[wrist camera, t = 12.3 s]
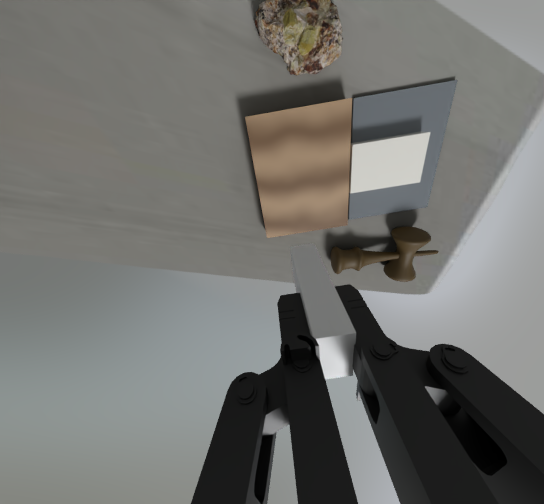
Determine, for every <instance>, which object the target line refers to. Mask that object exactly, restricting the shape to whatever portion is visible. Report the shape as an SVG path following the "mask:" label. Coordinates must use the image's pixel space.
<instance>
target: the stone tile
mask: <svg viewBox="0 0 544 504" xmlns="http://www.w3.org/2000/svg"><path fill="white" fill-rule="evenodd" d="M429 137H430V132H416V133H410V134H404V135H398V136H392V137H386V138H380V139H374V140H368V141H362V142H356V143H351V144H350V171H349V193H350V194H351V193H357V192H363V191H369V190H375V189H382V188H388V187H394V186H400V185H407V184H413V183H419V182H420V180H421V175H422V171H423V166H424V161H425V156H426V151H427V147H428V142H429Z"/></svg>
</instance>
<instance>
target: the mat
mask: <svg viewBox="0 0 544 504" xmlns="http://www.w3.org/2000/svg"><path fill="white" fill-rule="evenodd" d="M456 84H457V80H454V81H448V82H442V83H437V84H431V85H425V86H420V87H414V88H408V89H403V90H397V91H392V92H386V93H380V94H375V95H369V96H363V97H358V98H353V102H352V128H351V143H356V142H362V141H368V140H374V139H380V138H386V137H392V136H398V135H404V134H410V133H416V132H430V137H429V142H428V147H427V151H426V156H425V161H424V166H423V171H422V175H421V180H420V182H419V183H413V184H407V185H400V186H394V187H388V188H382V189H375V190H369V191H363V192H357V193H351V194H350V193H349V206H348V219H356V218H362V217H368V216H374V215H381V214H387V213H393V212H399V211H405V210H412V209H418V208H424V207H427V206H428V201H429V197H430V193H431V189H432V185H433V180H434V176H435V172H436V168H437V164H438V159H439V155H440V151H441V147H442V143H443V138H444V134H445V130H446V126H447V122H448V117H449V113H450V109H451V105H452V101H453V96H454V92H455V88H456Z"/></svg>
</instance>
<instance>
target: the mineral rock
mask: <svg viewBox="0 0 544 504" xmlns="http://www.w3.org/2000/svg"><path fill="white" fill-rule="evenodd" d="M256 16H257V17H256V19H255V25H256V27H257V28H258V30H259V36H260V39H261V40H262V41H263V43H264V44H265V45H267V47H268V48H270V49H271V50H273V52H274V53H277V54H280V55H281V56H282V57H283V59H284V62H285V63H287V65H288V68H287V70H288V71H289V72H290V74H294V75H295V74H296V75H300V74H304V73H308V74H317V73H318V72H319V71H320V70H321V69H323V68H324V67H326V66H329V65H330V64H331V63H332V62H334V61H335V60H336V59H337V58H338V57H339V56H340V55H341V51H342V50H341V48H342V46H341V42H342V40H343V38H342V35H341V33H342V32H343V31H342V27H341V22H340V19H339V15H338V11H337V7H336V5H334V4H333V3H331V0H266V1H264V2H262V3H261V4H259V9H258V11H257V12H256Z"/></svg>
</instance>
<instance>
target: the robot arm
mask: <svg viewBox="0 0 544 504" xmlns="http://www.w3.org/2000/svg"><path fill="white" fill-rule="evenodd" d="M290 252H291V260H292V269H293V277H294V283H295V287H296V292H297V293H294V294H287V295H281V296H280V299H279V301H278V312H279V322H280V331H281V340H282V344H281V349H280V351H281V358H280V360H279V361H278V363H277V364H276V365H275V366H274V367H272V368H271V369H269V370H267V371H265V372H263V373H261V374H259V375H258V374H256V373H253V372H247V373H243V374H241V375H239V376H238V377H236V379H234V381H232V383H231V385H230V387H229V389H228V391H227V394H226V398H225V401H224V404H223V407H222V410H221V413H220V416H219V419H218V422H217V425H216V428H215V431H214V434H213V438H212V441H211V444H210V447H209V450H208V453H207V456H206V459H205V462H204V465H203V469H202V471H201V474H200V477H199V481H198V484H197V487H196V490H195V493H194V496H193V499H192V502H191V504H267V500H268V493H269V485H270V477H271V469H272V462H273V454H274V446H275V439H276V432H277V431H279V430H280V429H282V428H284V427H285V426H287V425H289V424H290V432H291V442H292V451H293V460H294V469H295V479H296V488H297V496H298V504H358V502H357V498H356V494H355V490H354V487H353V483H352V479H351V475H350V471H349V468H348V464H347V460H346V457H345V453H344V449H343V445H342V442H341V438H340V434H339V430H338V426H337V422H336V419H335V415H334V411H333V408H332V404H331V400H330V396H329V392H328V389H327V385H326V381H325V379H331V378H338V377H345V376H352V375H353V369H354V372H355V374H356V377H357V379H358V383H357V393H356V395H357V400H358V401H360V398H361V399H362V402H363V404H364V407H365V410H366V413H367V415H368V418H369V421H370V423H371V426H372V429H373V431H374V434H375V437H376V439H377V442H378V445H379V448H380V450H381V453H382V456H383V458H384V461H385V464H386V466H387V469H388V472H389V474H390V477H391V480H392V482H393V485H394V488H395V490H396V493H397V496H398V498H399V501H400V503H401V504H544V414H543V413H541V412H540V411H539V410H538V409H536V408H535V407H534V406H533V405H532V404H530V403H529V402H528V401H526V400H525V399H524V398H523V397H522V396H521V395H519V394H518V393H517V392H516V391H514V390H513V389H512V388H511V387H509V386H508V385H507V384H506V383H505V382H503V381H502V380H501V379H500V378H498V377H497V376H496V375H495V374H493V373H492V372H491V371H490V370H488V369H487V368H486V367H485V366H484V365H482V364H481V363H480V362H479V361H477V360H476V359H475V358H474V357H472V356H471V355H470V354H468V353H467V352H465V351H464V350H462V349H460V348H458V347H455V346H453V345H447V344H438V345H435V346H434V347H432V348H431V349H430V352H429V351H422V350H416V349H409V348H405V347H402V346H399V345H397V344H396V343H395V342H394V341H393V340H391V339H389V338H388V337H386V335H385V334H384V333H383V331H382V330H381V328H380V326H379V325H378V323H377V321H376V319H375V318H374V316H373V314H372V313H371V311H370V310H369V308H368V307H367V305H366V303H365V301H364V300H363V298H362V296H361V295H360V293H359V291H358V290H357V289H355V288H354V287H353V286H351V285H350V284H349V285H342V286H336V287H335V286H334V284H333V282H332V280H331V278H330V276H329V274H328V272H327V269H326V267H325V265H324V263H323V261H322V259H321V257H320V255H319V252H318V250H317V248H316V246H315V244H314V243H311V244H304V245H298V246H292V247H290Z"/></svg>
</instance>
